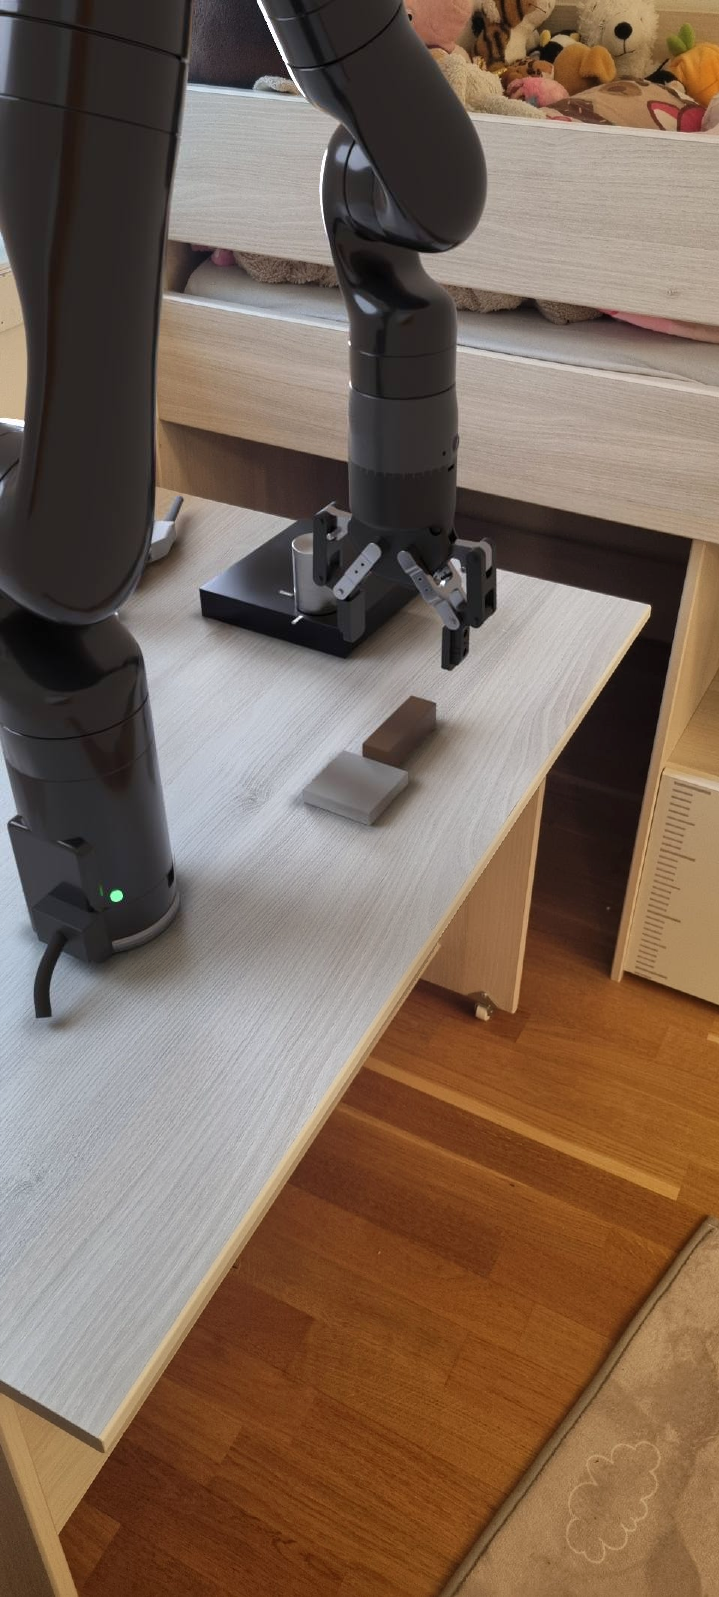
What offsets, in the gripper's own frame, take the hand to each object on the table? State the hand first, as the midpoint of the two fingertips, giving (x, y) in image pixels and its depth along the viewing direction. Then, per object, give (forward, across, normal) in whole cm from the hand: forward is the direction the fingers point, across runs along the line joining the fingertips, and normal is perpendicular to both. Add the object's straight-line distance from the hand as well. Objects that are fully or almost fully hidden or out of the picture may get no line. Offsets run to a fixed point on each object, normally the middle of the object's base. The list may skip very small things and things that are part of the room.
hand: (402, 651), depth 92 cm
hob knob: (+6, -16, +12) cm, 21 cm away
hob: (+9, -19, +18) cm, 28 cm away
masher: (+9, 0, -3) cm, 9 cm away
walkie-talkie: (+9, -42, +17) cm, 46 cm away
